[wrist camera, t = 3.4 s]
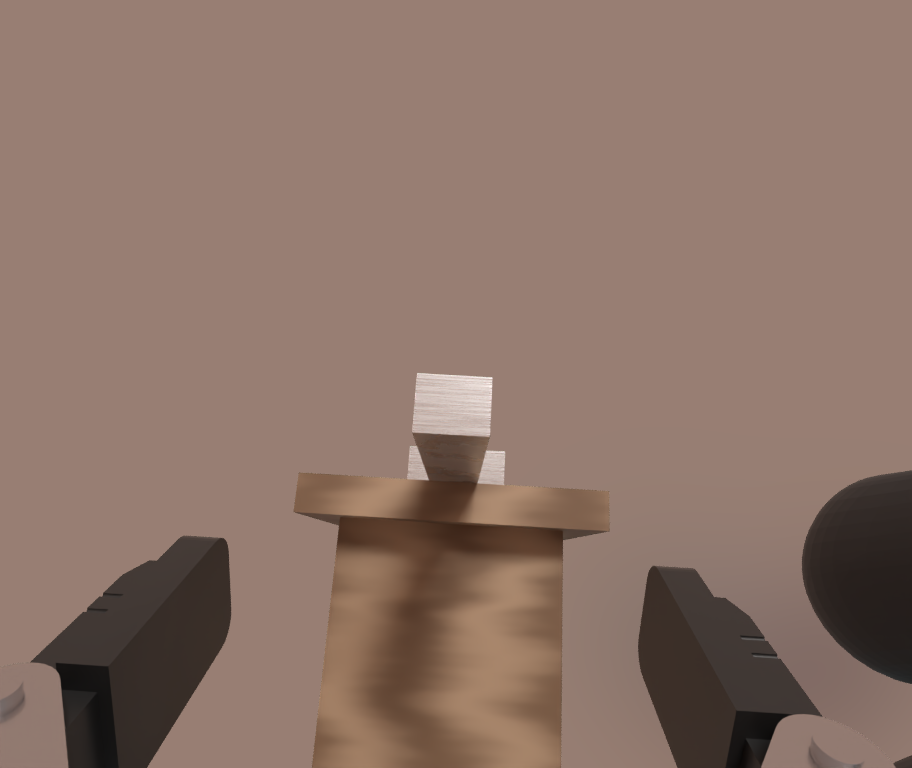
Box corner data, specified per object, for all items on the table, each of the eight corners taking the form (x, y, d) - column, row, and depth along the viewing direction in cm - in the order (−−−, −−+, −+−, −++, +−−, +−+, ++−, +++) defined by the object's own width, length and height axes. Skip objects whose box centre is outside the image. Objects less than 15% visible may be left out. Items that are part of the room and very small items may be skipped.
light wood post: (496, 514, 49) (498, 465, 50) (559, 440, 19) (561, 324, 20) (412, 509, 49) (416, 461, 50) (342, 428, 19) (355, 313, 20)
